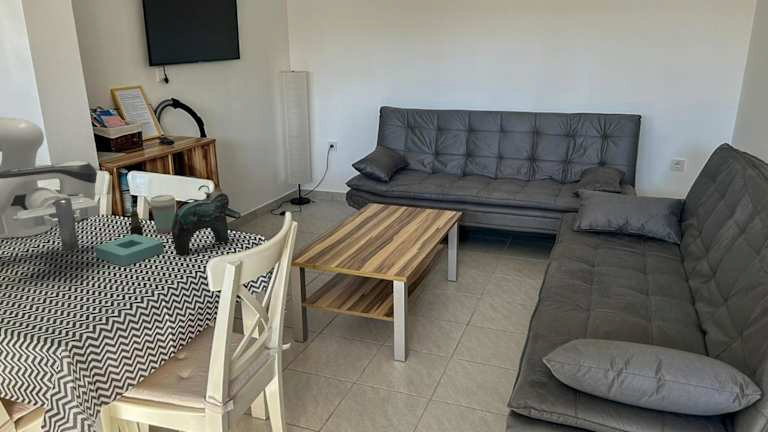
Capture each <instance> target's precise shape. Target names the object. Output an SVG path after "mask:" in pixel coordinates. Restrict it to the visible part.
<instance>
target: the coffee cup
mask: <svg viewBox="0 0 768 432" xmlns="http://www.w3.org/2000/svg"><path fill="white" fill-rule="evenodd" d="M176 203H177V199H176V198H175V197H174V195H172V194H159V195H154V196H152V197H150V201H149V206H150V208H151V212H152V217H153V220H154V224H155V228H156V232H157V233H158V234H170V233H171V234H172V230H171V228H172V223H173V219H174V216H175V213H176Z"/></svg>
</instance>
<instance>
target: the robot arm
mask: <svg viewBox="0 0 768 432" xmlns="http://www.w3.org/2000/svg"><path fill="white" fill-rule="evenodd" d="M44 139H45V135H44V131H43V130H42V128H41V127H40V126H39V125H38V124H36V123H34V122H32V121H30V120H28V119H23V118H14V117H3V116H0V153H1V162H0V239H7V238H25V237H30V236H35V235H39V234H43V233H46V232H48V231H49V230H51V228H52V227H55V226H56V227H57V226H58V225H59V223H58V222H59V220H58V218H57V215H56V209H55V204H54V201H55V200H57V199H63V198H69V199H71V203H72V209H73V215H74V221H75V224H77V223H78V224H79V223H82V222H85V221H86V220H89V218H92V217H97V216H99V215H100V207H99V203H98V202H97V201H95V200H96V183H97V176H98V171H97V170H96V168H95V167H94V166H93V165H92V164H91V163H90V162H87V161H84V160H83V161H82V160H73V161H69V162H62V163H57V164H48V165H39V166H36V162H37V155H38V151H39V149H40V148H41V147H42V145H44V144H43V143H44ZM57 179H58V180H59V193H57V192H55V191H54V190H52V189H50V188H47V187H43V186H39V183H38V182H41V181H47V180H57Z"/></svg>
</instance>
